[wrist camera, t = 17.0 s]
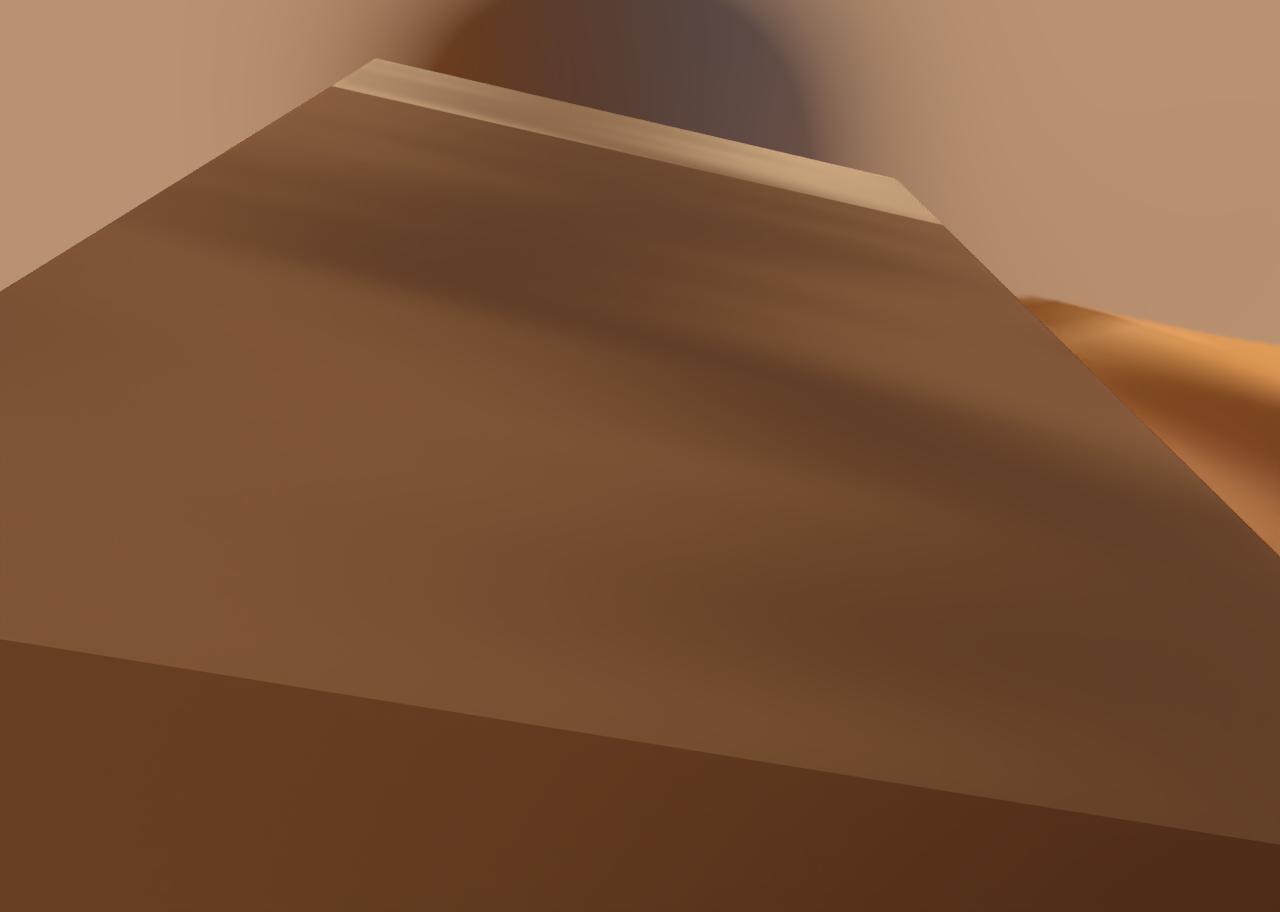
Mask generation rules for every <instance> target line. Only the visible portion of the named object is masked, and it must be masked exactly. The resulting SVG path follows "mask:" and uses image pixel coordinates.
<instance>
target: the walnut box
mask: <svg viewBox="0 0 1280 912" xmlns="http://www.w3.org/2000/svg"><path fill="white" fill-rule="evenodd" d="M0 912H1280V556H1279V555H1278V554H1277V553H1276V552H1275V551H1274V550H1273V549H1272V548H1271V547H1270V546H1269V545H1268V544H1266V543H1265V542H1264V541H1263V540H1262V539H1261V538H1260V537H1259V536H1258V535H1257V534H1256V533H1255V532H1254V531H1253V530H1252V529H1251V528H1250V527H1249V526H1248V525H1247V524H1246V523H1245V522H1244V521H1243V520H1242V519H1241V518H1240V517H1239V516H1238V515H1237V514H1236V513H1235V512H1234V511H1233V510H1232V509H1231V508H1230V507H1229V506H1228V505H1227V504H1226V503H1225V502H1224V501H1223V500H1222V499H1221V498H1220V497H1219V496H1218V495H1217V494H1216V493H1215V492H1214V491H1213V490H1212V489H1211V488H1210V487H1209V486H1208V485H1207V484H1206V483H1205V482H1203V481H1202V480H1201V479H1200V478H1199V477H1198V476H1197V475H1196V474H1195V473H1194V472H1193V471H1192V470H1191V469H1190V468H1189V467H1188V466H1187V465H1186V464H1185V463H1184V462H1183V461H1182V460H1181V459H1180V458H1179V457H1178V456H1177V455H1176V454H1175V453H1174V452H1173V451H1172V450H1171V449H1170V448H1169V447H1168V446H1167V445H1166V444H1165V443H1164V442H1163V441H1162V440H1161V439H1160V438H1159V437H1158V436H1157V435H1156V434H1155V433H1154V432H1153V431H1152V430H1151V429H1150V428H1149V427H1148V426H1147V425H1146V424H1145V423H1144V422H1143V421H1142V420H1140V419H1139V418H1138V417H1137V416H1136V415H1135V414H1134V413H1133V412H1132V411H1131V410H1130V409H1129V408H1128V407H1127V406H1126V405H1125V404H1124V403H1123V402H1122V401H1121V400H1120V399H1119V398H1118V397H1117V396H1116V395H1115V394H1114V393H1113V392H1112V391H1111V390H1110V389H1109V388H1108V387H1107V386H1106V385H1105V384H1104V383H1103V382H1102V381H1101V380H1100V379H1099V378H1098V377H1097V376H1096V375H1095V374H1094V373H1093V372H1092V371H1091V370H1090V369H1089V368H1088V367H1087V366H1086V365H1085V364H1084V363H1083V362H1082V361H1081V360H1080V359H1078V358H1077V357H1076V356H1075V355H1074V354H1073V353H1072V352H1071V351H1070V350H1069V349H1068V348H1067V347H1066V346H1065V345H1064V344H1063V343H1062V342H1061V341H1060V340H1059V339H1058V338H1057V337H1056V336H1055V335H1054V334H1053V333H1052V332H1051V331H1050V330H1049V329H1048V328H1047V327H1046V326H1045V325H1044V324H1043V323H1042V322H1041V321H1040V320H1039V319H1038V318H1037V317H1036V316H1035V315H1034V314H1033V313H1032V312H1031V311H1030V310H1029V309H1028V308H1027V307H1026V306H1025V305H1024V304H1023V303H1022V302H1021V301H1020V300H1019V299H1018V298H1017V297H1015V296H1014V295H1013V294H1012V293H1011V292H1010V291H1009V290H1008V289H1007V288H1006V287H1005V286H1004V285H1003V284H1002V283H1001V282H1000V281H999V280H998V279H997V278H996V277H995V276H994V275H993V274H992V273H991V272H990V271H989V270H988V269H987V268H986V267H985V266H984V265H983V264H982V263H981V262H980V261H979V260H978V259H977V258H976V257H975V256H974V255H973V254H972V253H971V252H970V251H969V250H968V249H967V248H966V247H964V246H963V244H962V243H961V242H960V241H959V240H958V239H957V238H955V236H953V235H952V234H951V233H950V232H949V231H948V230H947V229H946V228H945V227H944V226H943V225H942V224H941V223H940V222H939V221H938V220H937V219H936V218H935V217H934V216H933V215H932V214H931V213H930V212H929V211H928V210H927V209H926V208H925V207H924V206H923V205H922V204H921V203H920V202H919V201H918V200H917V199H916V198H915V197H914V196H913V195H912V194H911V193H910V192H909V191H908V190H907V189H906V188H905V187H904V186H903V185H902V184H901V183H900V182H899V181H897V179H894V178H890V177H886V176H881V175H877V174H872V173H868V172H864V171H860V170H856V169H851V168H847V167H843V166H838V165H834V164H830V163H825V162H821V161H817V160H812V159H808V158H804V157H799V156H795V155H790V154H787V153H782V152H778V151H773V150H769V149H765V148H761V147H756V146H751V145H748V144H743V143H739V142H735V141H730V140H726V139H721V138H717V137H713V136H708V135H704V134H700V133H696V132H692V131H687V130H683V129H678V128H674V127H670V126H666V125H661V124H657V123H653V122H648V121H644V120H640V119H635V118H631V117H627V116H622V115H618V114H614V113H609V112H605V111H600V110H597V109H592V108H587V107H584V106H579V105H575V104H570V103H566V102H562V101H558V100H553V99H549V98H545V97H540V96H536V95H531V94H527V93H523V92H519V91H515V90H510V89H506V88H502V87H497V86H493V85H488V84H484V83H480V82H476V81H471V80H467V79H463V78H458V77H454V76H450V75H445V74H441V73H437V72H432V71H428V70H424V69H420V68H415V67H411V66H406V65H402V64H398V63H394V62H389V61H385V60H380V59H374V60H373V61H371V62H369V63H368V64H366V65H365V66H363V67H361V68H360V69H358V70H356V71H355V72H353V73H352V74H350V75H348V76H347V77H345V78H344V79H342V80H340V81H339V82H337V83H336V84H334V85H332V86H331V87H329V88H327V89H326V90H324V91H323V92H321V93H319V94H318V95H316V96H315V97H313V98H311V99H310V100H308V101H307V102H305V103H303V104H302V105H301V106H299V107H297V108H295V109H294V110H292V111H290V112H289V113H287V114H286V115H284V116H282V117H281V118H279V119H278V120H276V121H274V122H273V123H271V124H270V125H268V126H266V127H265V128H263V129H261V130H260V131H258V132H257V133H255V134H253V135H252V136H250V137H249V138H247V139H245V140H244V141H242V142H240V143H239V144H237V145H236V146H234V147H233V148H231V149H229V150H228V151H226V152H225V153H223V154H221V155H220V156H218V157H216V158H215V159H213V160H212V161H210V162H208V163H207V164H205V165H203V166H202V167H200V168H199V169H197V170H195V171H194V172H192V173H191V174H189V175H187V176H186V177H184V178H183V179H181V180H180V181H178V182H176V183H174V184H173V185H171V186H170V187H168V188H166V189H165V190H163V191H162V192H160V193H158V194H157V195H155V196H154V197H152V198H150V199H149V200H147V201H146V202H144V203H142V204H141V205H139V206H137V207H136V208H134V209H133V210H131V211H129V212H128V213H126V214H125V215H123V216H121V217H120V218H118V219H117V220H115V221H113V222H112V223H110V224H108V225H107V226H106V227H104V228H102V229H101V230H99V231H97V232H96V233H94V234H92V235H91V236H89V237H88V238H86V239H84V240H83V241H81V242H80V243H78V244H76V245H75V246H73V247H72V248H70V249H68V250H67V251H65V252H63V253H62V254H60V255H59V256H57V257H55V258H54V259H52V260H51V261H49V262H47V263H46V264H44V265H42V266H41V267H39V268H38V269H36V270H35V271H33V272H31V273H30V274H28V275H26V276H25V277H23V278H21V279H20V280H18V281H17V282H15V283H13V284H12V285H10V286H9V287H7V288H5V289H4V290H2V291H1V292H0Z"/></svg>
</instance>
